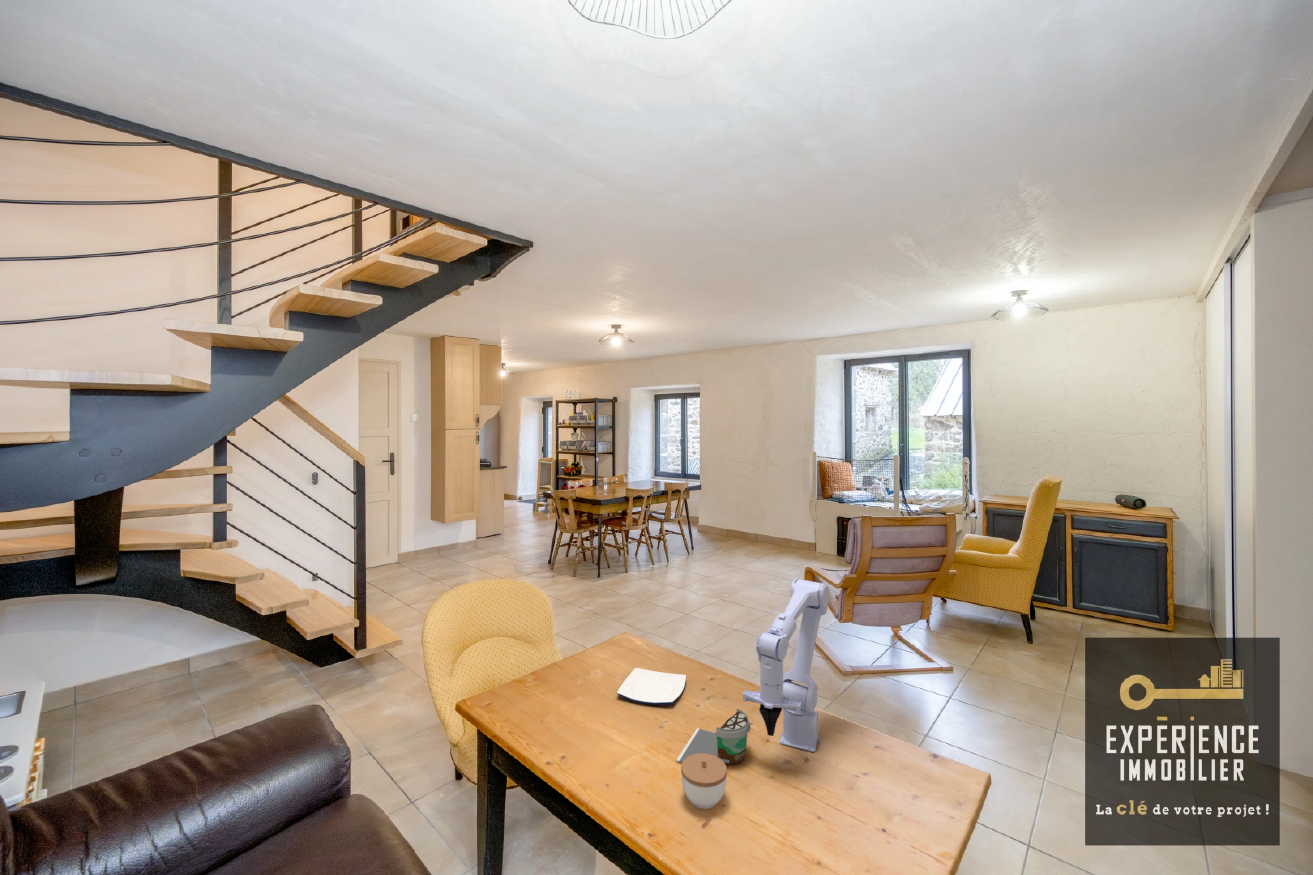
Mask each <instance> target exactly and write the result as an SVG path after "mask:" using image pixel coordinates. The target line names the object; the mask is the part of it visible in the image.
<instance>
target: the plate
mask: <svg viewBox="0 0 1313 875" xmlns="http://www.w3.org/2000/svg"><path fill="white" fill-rule="evenodd" d="M686 680H687V675H686V674H679V673H670V672H669V673H668V672H661V671H654V670H649V669H644V668H640V667H635V668H634V669H633V670H632V671H631V673H630V674H629V675H628V676H627V677H626V678H625V679H624V681H623V682H622V684H621V685H620V687H619V688H618V690H617V692H616V695H618V696H619V697H621V698H624V699H626V700H629V701H631V702H635V703H640V704H645V705H646V704H648V705H655V706H657V705H658V706H659V705H661V706H665V705H666V706H667V705H668V706H669V705H673V703H674V702H676V701H677V700H678V699H679V698H680V697H681V695H682V693H683V692H684V689H685V687H686V686H685V685H686Z"/></svg>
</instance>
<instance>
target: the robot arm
mask: <svg viewBox="0 0 1313 875" xmlns="http://www.w3.org/2000/svg"><path fill="white" fill-rule="evenodd" d="M830 597H831V594H830V587H829V586H828V584H827V583H822V582H816V581H812V580H805V579H801V578H797V577H796V578H795V579H794V580H792V582H791V585H790V599H789V601H788V602H787V605H786V607H785V609H784V611H783V612H781V613H778V614H777V615H776V617H774V620H773V621H772V622H771V624H770V626H769V628H768V629H767V631H765V632H762V633H760V634H759V635H758V637H757V641H756V645H755V651H756V653H757V655H758V656H757V660H758V663H760V665H759V666H760V667H759V669H760V671H759V672H760V673H759V674H760V675H759V676H760V677H759V678H760V679H759V681H760V682H759V685H760V686H759V691H750V690H744V691H743V692H742V702H745V703H746V702H751V703H756V704H760V705H759V709H758V711H759V713H760V715H761V717H762V719H763V721H764V724H765V728H766V733H767V736H771V737H773V736H774V735H775V731H776V725H777V722H778V720H779V718H780V715H781V713H782V710H783V718H782V719H783V720H782V721H783V722H782V724H783V725H782V733H781V736H780V740H779V744H781V745H784V746H788V747H792V748H796V749H800V750H805V751H807V752H812V753H815V752H816V749H817V744H818V741H819V738H820V737H819V713H818V712H817V711H815V709H816V707H817V702H818V685H817V683H816V681H815V680H814V679H813V677H812V676H811V675H810V673H811V670H812V668H811V667H812V664H813V658H814V653H815V647H816V641H817V637H818V631H819V626H820V621H821V618H822V616H824V615H826V614H827V612H828V609H829V608H828V607H829V603H830ZM801 614H802V617H801V624H800V628H799V633H798V637H797V641H796V646H795V652H794V657H793V662H792V667H791V670H787V672H784V660H785V658H786V656H787V654H788V648H789V646H790V640H791V638H792V636H793V634H794V633H795V631H796V629H797V627H798V626H797V622H796V621H797V620H798V618H799V617H800V616H801ZM799 683H800V684H799ZM802 684H803V685H802ZM804 685H805V686H804Z"/></svg>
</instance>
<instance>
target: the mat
mask: <svg viewBox="0 0 1313 875" xmlns="http://www.w3.org/2000/svg"><path fill="white" fill-rule="evenodd" d="M698 753H706V754H711V755H714V756H716V757H718V748H717V736H716V732H712V731H708V730H705V729H701V728H698V727H696V729H695V731H693V734H692V735H691V737H690V738H689V739H688V741H687V742H686V745H684V747H683V749H682V751H681V752H680V754H679V755H678V757H677V758H676V759H675V760H676V763H679V764H682V762H683V761H684V759H685V758H687V757H688V756H690V755H693V754H698Z"/></svg>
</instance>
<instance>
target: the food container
mask: <svg viewBox="0 0 1313 875" xmlns="http://www.w3.org/2000/svg"><path fill="white" fill-rule="evenodd" d="M750 731H751V724H750V719H749V716H748V714H747V713H746V712H745V711H743V710H742V709H740V708H736V711H735V713H734V714H733V715H732V716H731V717H729V718H728V719H727V720H726V721H725V722H724V724H722V725H721V726H720V727H718V726H716V730H715V733H716V736H717V748H718V758H720V759H721V760H722V761H723V762H724V763H725V765H726V767H727V766H728V767H735V766H738V765H739V766H740V764H743V763H744V762H745V760H746V757H747V756H746V755H747V743H748V734H749V732H750Z"/></svg>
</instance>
